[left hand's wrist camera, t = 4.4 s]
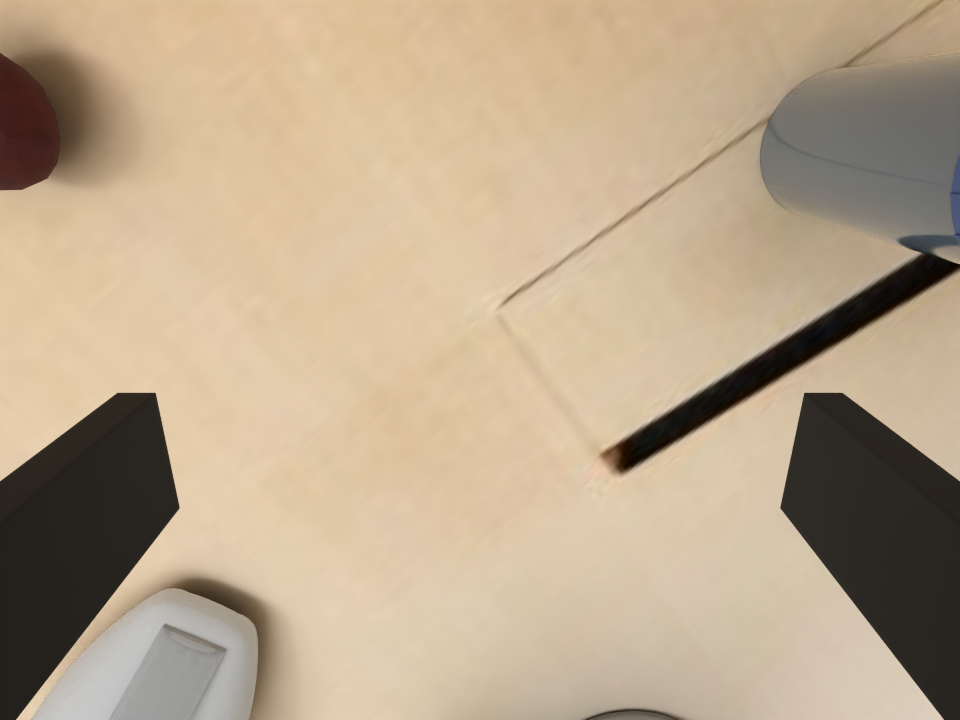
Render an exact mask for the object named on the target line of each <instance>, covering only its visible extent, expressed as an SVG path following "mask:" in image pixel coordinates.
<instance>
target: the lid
mask: <svg viewBox="0 0 960 720" xmlns="http://www.w3.org/2000/svg"><path fill="white" fill-rule="evenodd" d="M949 196H951V202H950V204H951V215H952V223H953V228H954V231H955V235H954V237H955V238H957V241H958V243H959V245H960V153H959V156H958V160H957V163H956V167H955V170H954V174H953V181H952V188H951V193H950V194H949Z"/></svg>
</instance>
